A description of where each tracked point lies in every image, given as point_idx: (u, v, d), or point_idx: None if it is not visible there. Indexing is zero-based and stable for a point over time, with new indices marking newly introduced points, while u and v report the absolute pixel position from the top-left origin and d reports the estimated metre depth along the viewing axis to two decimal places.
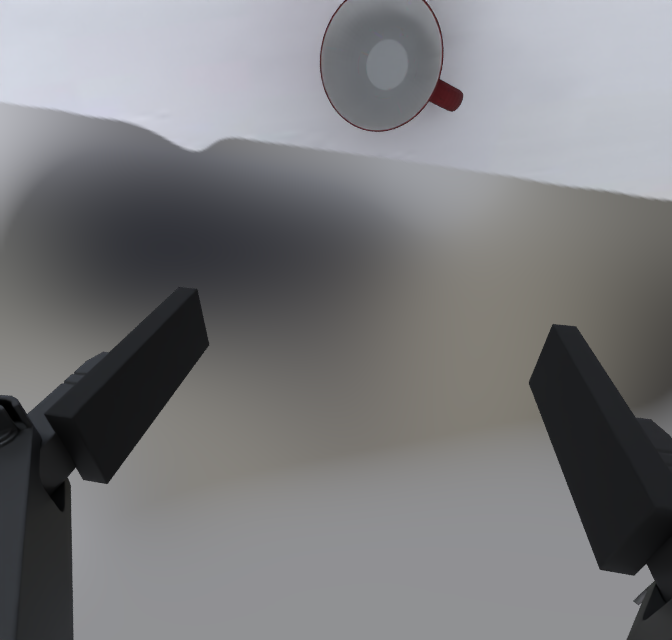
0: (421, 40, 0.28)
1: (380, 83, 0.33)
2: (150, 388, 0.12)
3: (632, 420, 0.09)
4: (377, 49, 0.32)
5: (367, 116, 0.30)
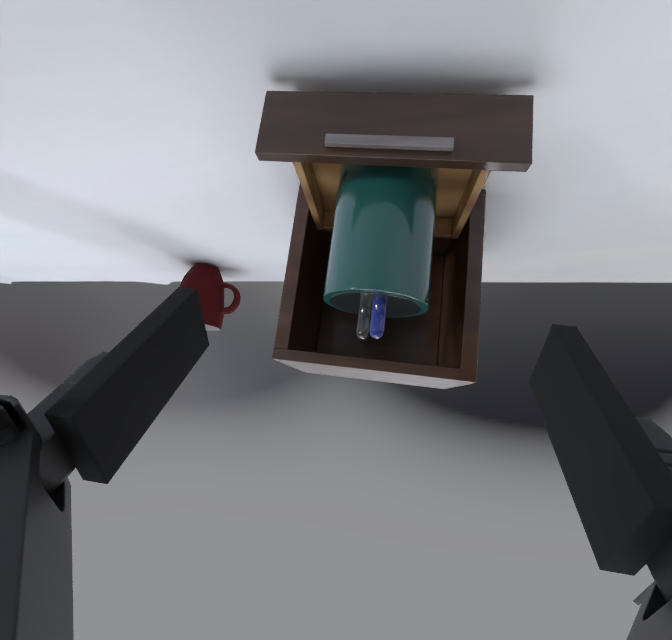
0: None
1: None
2: (150, 388, 0.12)
3: (632, 420, 0.09)
4: None
5: None
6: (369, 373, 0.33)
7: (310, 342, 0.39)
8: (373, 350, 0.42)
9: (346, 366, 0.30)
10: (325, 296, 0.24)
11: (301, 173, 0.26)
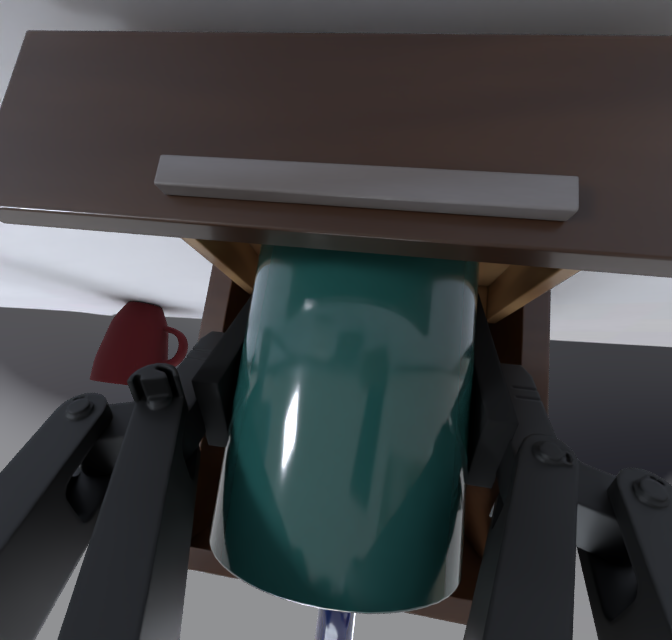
0: None
1: None
2: None
3: (495, 361, 0.11)
4: None
5: None
6: None
7: None
8: None
9: None
10: None
11: None
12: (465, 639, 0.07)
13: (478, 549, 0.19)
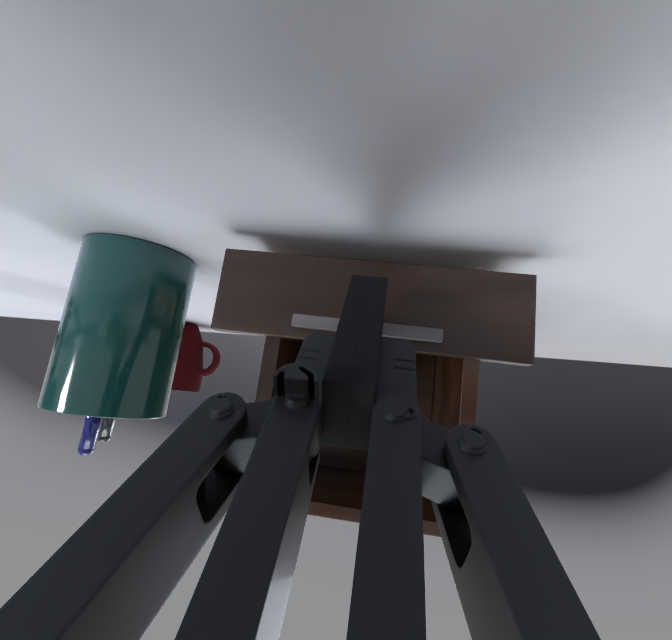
0: None
1: None
2: None
3: (378, 336, 0.12)
4: None
5: None
6: None
7: None
8: None
9: (323, 515, 0.26)
10: None
11: None
12: None
13: None
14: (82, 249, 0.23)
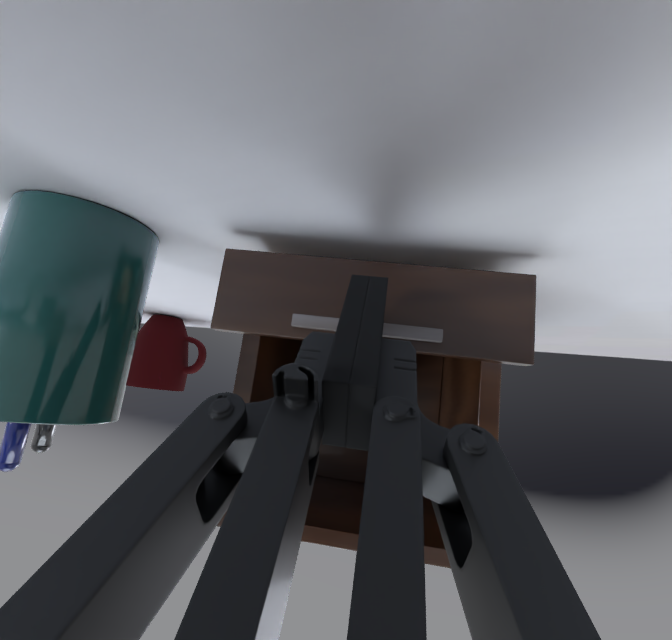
0: None
1: None
2: None
3: (378, 336, 0.12)
4: None
5: None
6: None
7: None
8: (356, 454, 0.34)
9: (311, 541, 0.21)
10: None
11: None
12: None
13: None
14: (7, 211, 0.18)
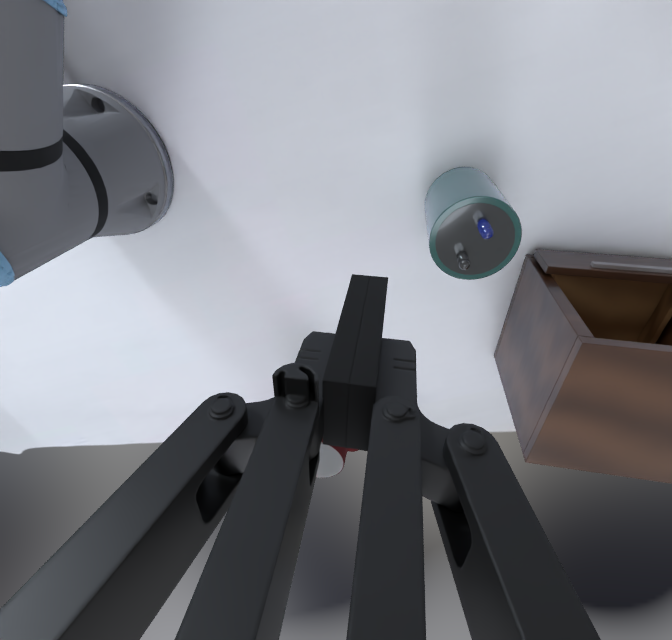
0: None
1: None
2: None
3: (378, 336, 0.12)
4: None
5: (322, 452, 0.55)
6: None
7: None
8: None
9: None
10: (435, 224, 0.30)
11: None
12: None
13: None
14: (447, 173, 0.36)
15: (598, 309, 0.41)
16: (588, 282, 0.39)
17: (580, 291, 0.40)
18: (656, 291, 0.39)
